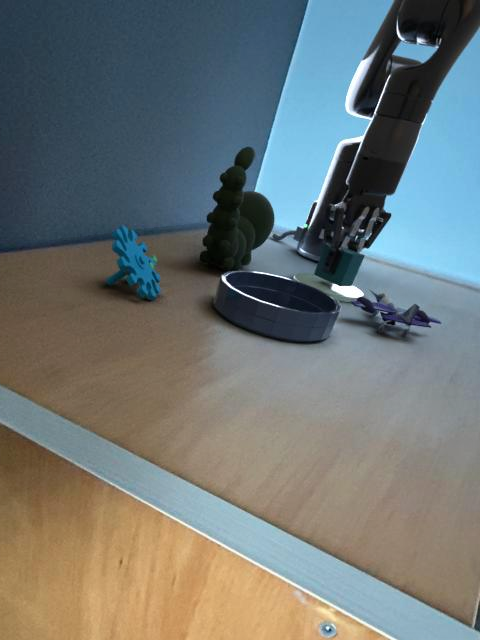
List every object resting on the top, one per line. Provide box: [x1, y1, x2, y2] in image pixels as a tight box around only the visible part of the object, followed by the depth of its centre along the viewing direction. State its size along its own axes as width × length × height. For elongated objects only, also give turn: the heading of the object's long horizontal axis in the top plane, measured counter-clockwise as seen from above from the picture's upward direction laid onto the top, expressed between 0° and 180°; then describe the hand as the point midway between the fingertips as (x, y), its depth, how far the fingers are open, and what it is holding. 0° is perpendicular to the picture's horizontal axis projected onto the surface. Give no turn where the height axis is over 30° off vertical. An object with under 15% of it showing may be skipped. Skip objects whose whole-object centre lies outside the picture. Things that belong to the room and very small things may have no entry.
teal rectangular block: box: [313, 244, 366, 287], centre depth 95 cm, size 6×3×5 cm, turn 30°
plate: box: [292, 272, 365, 303], centre depth 98 cm, size 12×12×1 cm
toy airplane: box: [350, 289, 442, 338], centre depth 85 cm, size 13×14×4 cm
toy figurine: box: [198, 146, 275, 272], centre depth 94 cm, size 9×19×25 cm
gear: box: [105, 224, 162, 301], centre depth 76 cm, size 11×6×10 cm
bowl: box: [213, 270, 343, 343], centre depth 77 cm, size 16×16×4 cm
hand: (334, 273), depth 96 cm, fingers closed on teal rectangular block, 3 cm apart
